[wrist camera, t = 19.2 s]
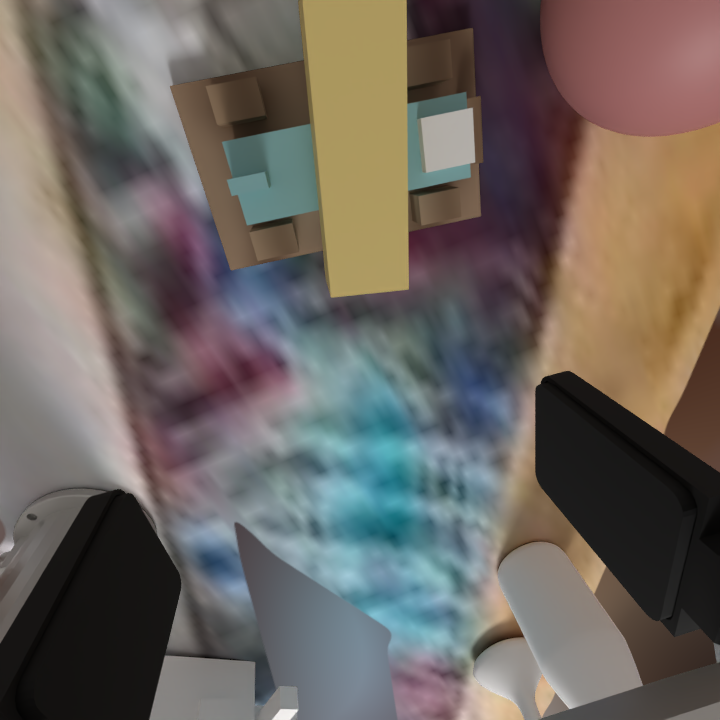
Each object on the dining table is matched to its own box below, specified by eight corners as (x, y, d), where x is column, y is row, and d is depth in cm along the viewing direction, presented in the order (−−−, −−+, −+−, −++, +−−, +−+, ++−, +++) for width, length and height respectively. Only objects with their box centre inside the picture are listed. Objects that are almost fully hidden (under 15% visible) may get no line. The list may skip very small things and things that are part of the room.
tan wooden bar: (325, 279, 27) (330, 297, 23) (298, 3, 20) (299, -30, 17) (393, 272, 27) (408, 289, 24) (386, 1, 21) (406, -32, 17)
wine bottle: (511, 536, 52) (745, 939, 25) (574, 539, 54) (851, 913, 27) (484, 586, 55) (662, 983, 29) (544, 587, 57) (761, 957, 31)
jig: (232, 267, 32) (226, 278, 29) (173, 88, 27) (158, 79, 24) (475, 214, 33) (494, 220, 30) (467, 32, 28) (488, 15, 25)
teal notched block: (255, 213, 30) (242, 231, 22) (235, 145, 28) (214, 140, 20) (439, 174, 31) (487, 178, 23) (433, 104, 28) (484, 84, 21)
